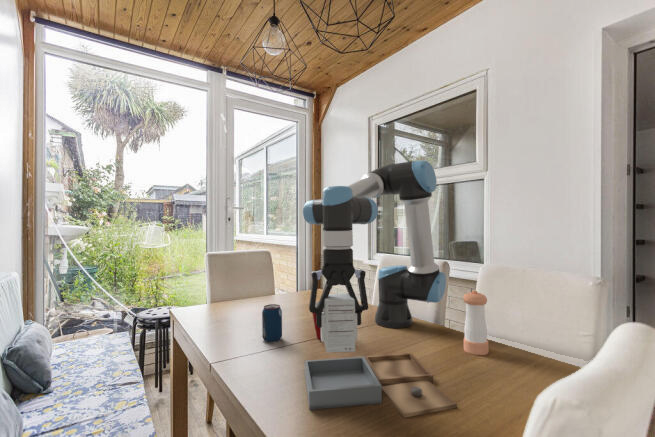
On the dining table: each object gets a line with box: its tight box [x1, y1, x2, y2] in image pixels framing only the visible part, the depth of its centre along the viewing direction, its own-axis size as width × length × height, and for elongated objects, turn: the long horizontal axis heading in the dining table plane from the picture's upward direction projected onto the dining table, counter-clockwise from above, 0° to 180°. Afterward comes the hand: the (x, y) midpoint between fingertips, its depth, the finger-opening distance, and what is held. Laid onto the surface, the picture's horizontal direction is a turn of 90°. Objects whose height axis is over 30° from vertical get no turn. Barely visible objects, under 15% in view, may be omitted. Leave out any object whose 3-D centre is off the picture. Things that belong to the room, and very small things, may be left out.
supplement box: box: [323, 293, 356, 354], centre depth 82 cm, size 7×7×13 cm
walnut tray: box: [363, 352, 434, 386], centre depth 91 cm, size 15×15×2 cm
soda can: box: [261, 303, 283, 344], centre depth 117 cm, size 7×7×12 cm
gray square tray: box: [304, 356, 383, 411], centre depth 82 cm, size 17×17×4 cm
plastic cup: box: [311, 301, 324, 341], centre depth 118 cm, size 11×11×12 cm
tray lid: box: [382, 380, 458, 419], centre depth 77 cm, size 13×12×2 cm
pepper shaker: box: [462, 289, 490, 356], centre depth 105 cm, size 7×7×19 cm
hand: (339, 338), depth 82 cm, fingers closed on supplement box, 7 cm apart
